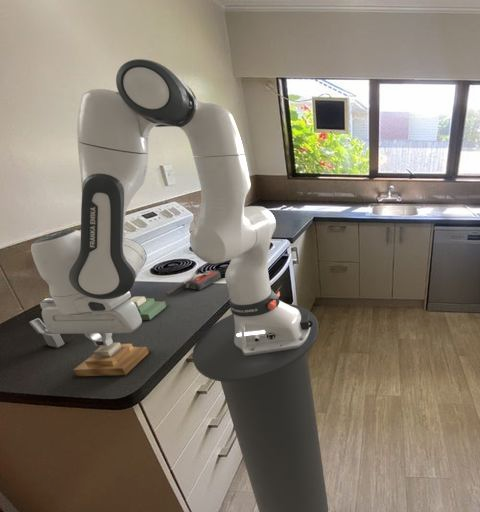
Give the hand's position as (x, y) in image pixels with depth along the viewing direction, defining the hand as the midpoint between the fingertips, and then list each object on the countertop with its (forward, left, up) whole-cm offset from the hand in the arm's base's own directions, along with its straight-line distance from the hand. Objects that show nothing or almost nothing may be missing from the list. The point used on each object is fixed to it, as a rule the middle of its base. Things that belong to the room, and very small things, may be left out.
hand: (104, 344), depth 73 cm
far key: (+11, -24, -3) cm, 27 cm away
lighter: (+25, -9, -7) cm, 27 cm away
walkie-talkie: (+3, -43, -7) cm, 44 cm away
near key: (0, 0, -3) cm, 3 cm away
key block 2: (+11, -24, -6) cm, 27 cm away
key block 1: (0, 0, -6) cm, 6 cm away
